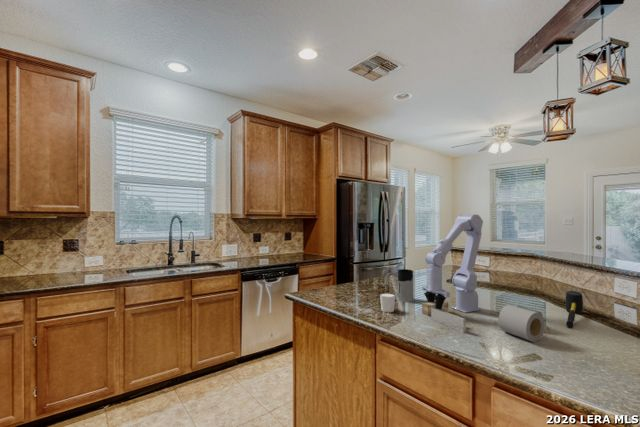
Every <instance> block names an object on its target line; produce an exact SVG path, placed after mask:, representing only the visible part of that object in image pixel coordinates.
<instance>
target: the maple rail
mask: <svg viewBox="0 0 640 427" xmlns="http://www.w3.org/2000/svg"><path fill="white" fill-rule="evenodd" d="M421 307H422V308H421V314H422V315H425V316H427V317H429V316H431V308H432V307H434V308H436V302H429V303H428V302H424V303H423V302H422V303H421ZM441 310H442V311H445V312H448V313H449V302H448V301H446V300H445V301H444V303H443V305H442V309H441Z"/></svg>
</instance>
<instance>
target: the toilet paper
mask: <svg viewBox="0 0 640 427" xmlns="http://www.w3.org/2000/svg"><path fill="white" fill-rule="evenodd" d="M498 325H499V327H500V329H501V331H503V332H505V333H507V334H510V335H513V336H517V337H519V338H521V339H524V340H526V341H528V342H532V343H536V342H538V341H540V340H541V338H542V336H543V335H544V333H545V326H546V324H545V319H544V316H543V314H542V315H541V314H540V313H537V312H533V311H529V310H526V309H522V308H519V307H517V306H515V305H511V304H506V305H504V306H503V307H502V308H501V310H500V312H499V315H498Z"/></svg>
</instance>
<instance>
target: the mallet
mask: <svg viewBox="0 0 640 427" xmlns="http://www.w3.org/2000/svg"><path fill="white" fill-rule="evenodd" d="M583 298H584V297H583V294H582V292H579V291H576V290H568V291H565V309H566V313H568V315H567V320H566V323H565V326H566V327H567V328H568V329H573V328H574V322H575V319H576V315H581V314H583V307H584V300H583Z"/></svg>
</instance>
